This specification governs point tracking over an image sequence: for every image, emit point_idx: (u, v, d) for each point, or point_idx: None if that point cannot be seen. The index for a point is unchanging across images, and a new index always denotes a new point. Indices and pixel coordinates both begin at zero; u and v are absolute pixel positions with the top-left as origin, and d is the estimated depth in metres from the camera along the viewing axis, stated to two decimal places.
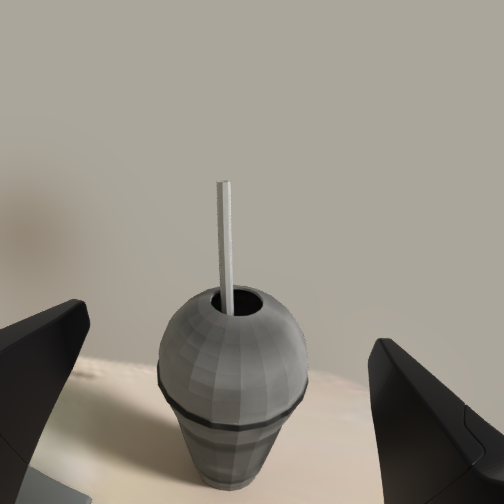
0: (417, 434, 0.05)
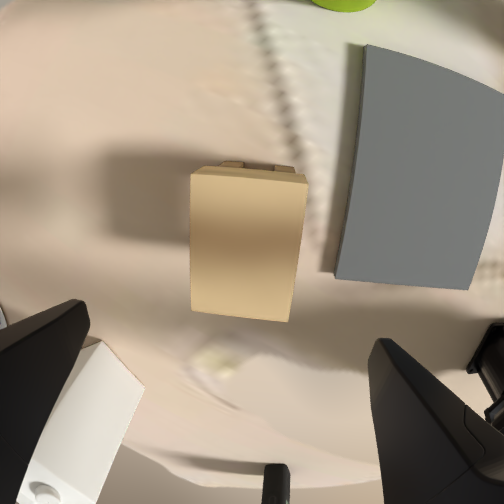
0: (417, 434, 0.05)
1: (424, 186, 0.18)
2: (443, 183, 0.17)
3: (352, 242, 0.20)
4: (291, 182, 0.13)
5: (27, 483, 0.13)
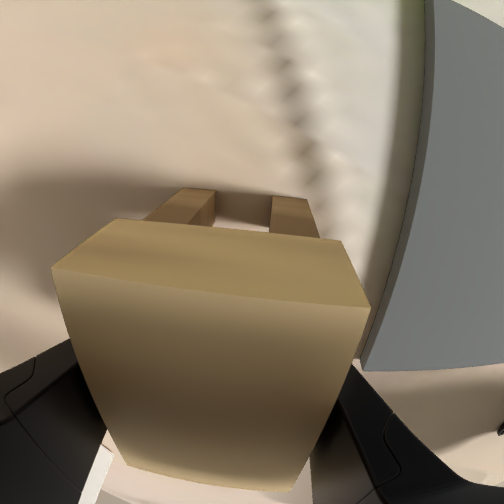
0: (334, 440, 0.05)
1: None
2: None
3: (396, 323, 0.11)
4: (321, 302, 0.04)
5: None
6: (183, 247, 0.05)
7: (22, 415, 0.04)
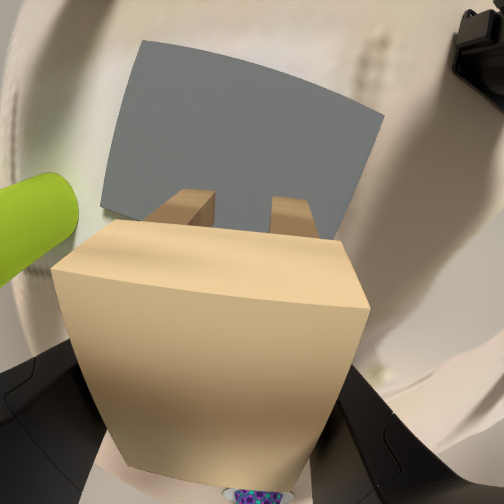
0: (334, 440, 0.05)
1: (233, 172, 0.18)
2: (233, 147, 0.18)
3: None
4: (321, 303, 0.04)
5: None
6: (183, 248, 0.05)
7: (22, 415, 0.04)
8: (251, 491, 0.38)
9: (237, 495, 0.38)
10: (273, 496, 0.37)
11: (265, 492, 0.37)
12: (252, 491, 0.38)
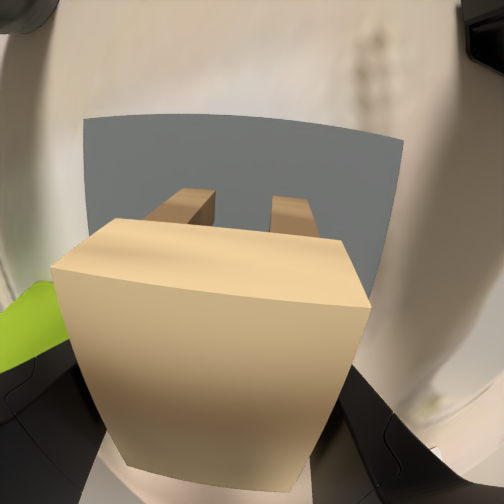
0: (334, 440, 0.05)
1: None
2: None
3: None
4: (322, 302, 0.04)
5: None
6: (183, 247, 0.05)
7: (22, 414, 0.04)
8: None
9: None
10: None
11: None
12: None
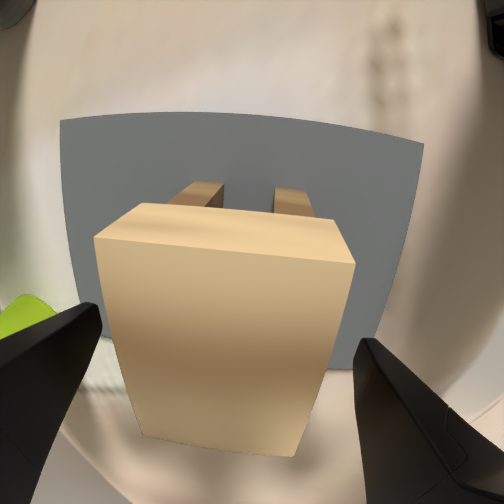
0: (398, 436, 0.05)
1: None
2: None
3: None
4: (316, 259, 0.05)
5: None
6: (204, 222, 0.07)
7: None
8: None
9: None
10: None
11: None
12: None
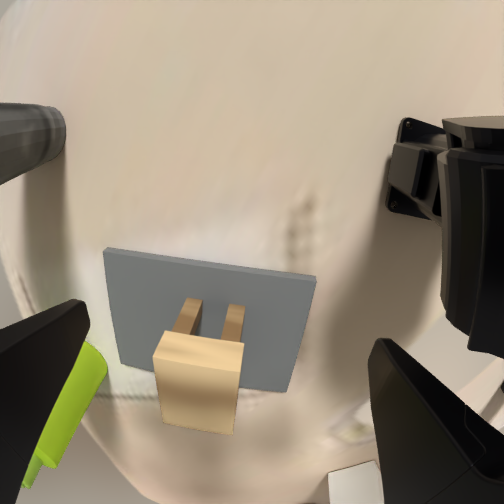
0: (417, 434, 0.05)
1: None
2: (201, 327, 0.24)
3: (256, 384, 0.26)
4: (227, 369, 0.16)
5: None
6: (191, 348, 0.17)
7: None
8: None
9: None
10: None
11: None
12: None
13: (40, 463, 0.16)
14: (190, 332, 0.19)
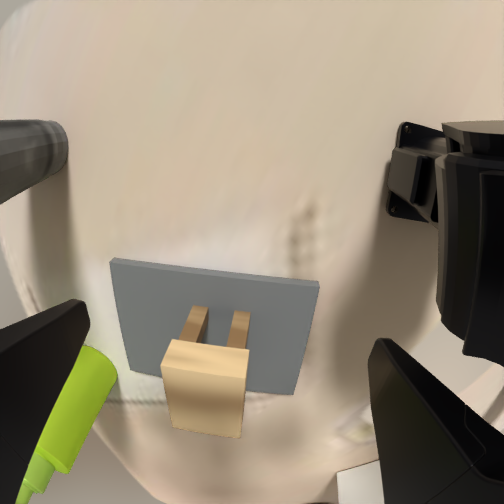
0: (417, 434, 0.05)
1: None
2: (208, 333, 0.24)
3: (263, 388, 0.26)
4: (232, 376, 0.16)
5: None
6: (198, 355, 0.18)
7: None
8: None
9: None
10: None
11: None
12: None
13: (53, 469, 0.16)
14: (197, 340, 0.20)
